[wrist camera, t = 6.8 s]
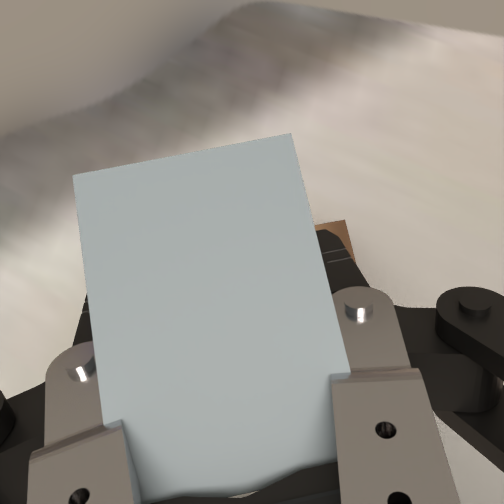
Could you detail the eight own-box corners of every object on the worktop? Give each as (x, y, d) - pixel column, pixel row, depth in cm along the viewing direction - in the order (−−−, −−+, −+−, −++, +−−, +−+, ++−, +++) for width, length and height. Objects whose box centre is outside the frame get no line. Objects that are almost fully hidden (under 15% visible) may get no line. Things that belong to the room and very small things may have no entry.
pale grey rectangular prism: (271, 266, 17) (291, 133, 8) (302, 408, 16) (374, 464, 6) (175, 286, 17) (72, 175, 7) (200, 431, 16) (116, 522, 6)
